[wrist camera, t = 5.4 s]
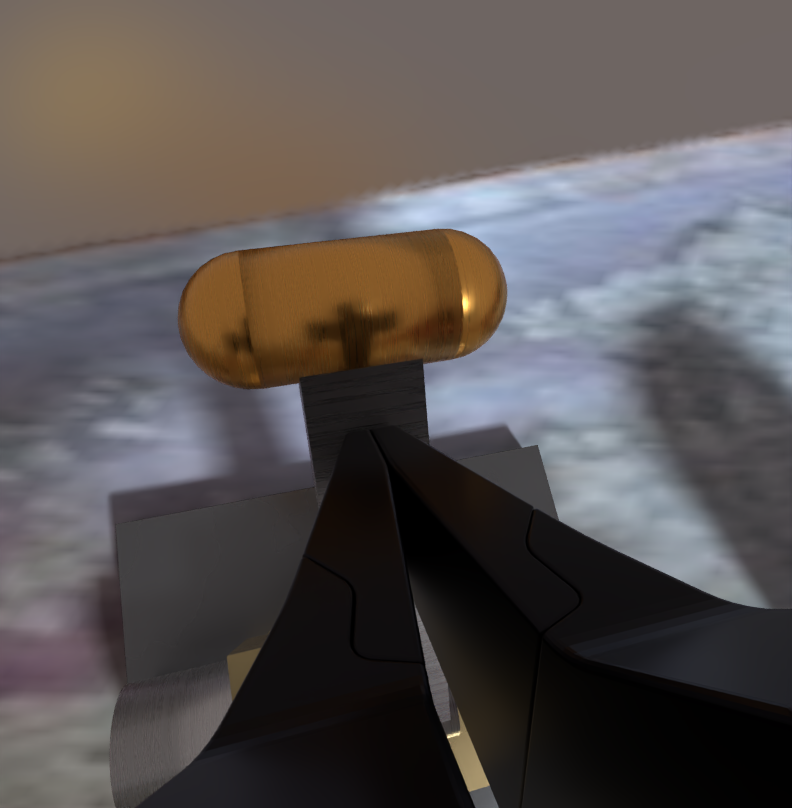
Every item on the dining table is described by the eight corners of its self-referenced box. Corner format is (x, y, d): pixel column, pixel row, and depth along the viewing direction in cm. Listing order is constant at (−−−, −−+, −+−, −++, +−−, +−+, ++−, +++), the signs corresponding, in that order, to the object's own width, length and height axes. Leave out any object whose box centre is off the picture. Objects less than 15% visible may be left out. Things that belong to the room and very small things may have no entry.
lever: (533, 747, 12) (529, 222, 8) (281, 821, 11) (150, 264, 7) (494, 670, 14) (476, 220, 10) (278, 727, 13) (173, 253, 9)
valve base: (626, 818, 18) (738, 906, 13) (163, 971, 15) (93, 1148, 10) (525, 452, 21) (586, 415, 16) (128, 527, 18) (61, 510, 14)
